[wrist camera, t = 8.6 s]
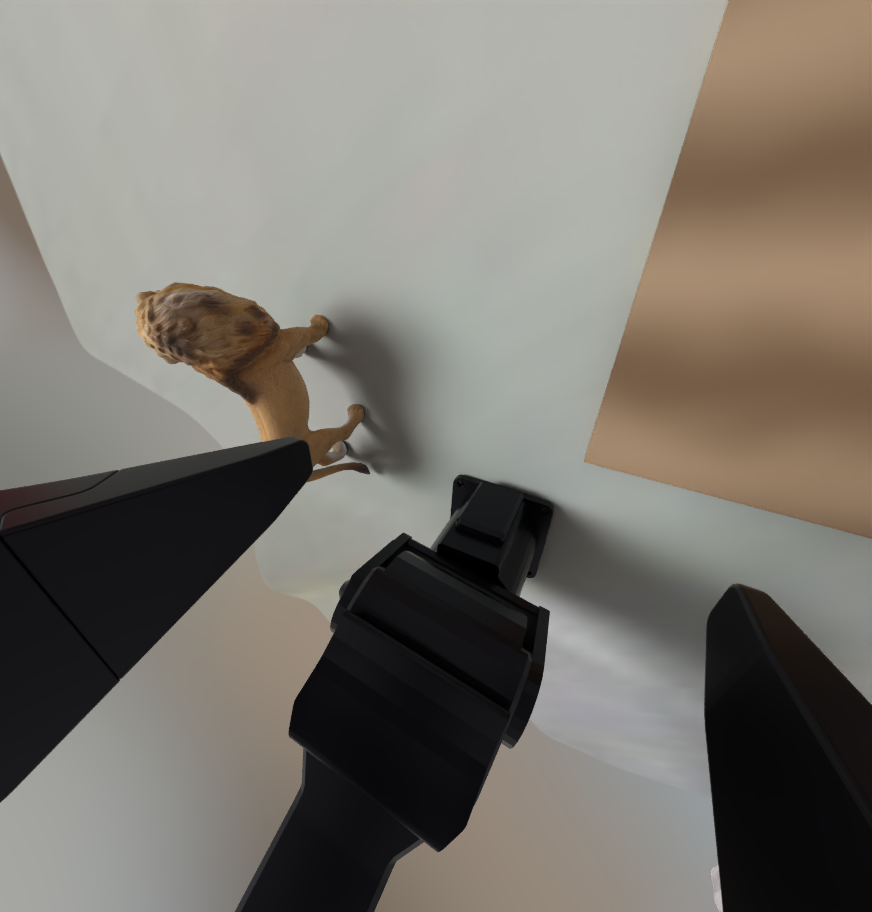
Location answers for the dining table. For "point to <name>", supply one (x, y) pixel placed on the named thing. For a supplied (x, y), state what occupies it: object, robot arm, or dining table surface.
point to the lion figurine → (245, 361)
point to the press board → (761, 279)
